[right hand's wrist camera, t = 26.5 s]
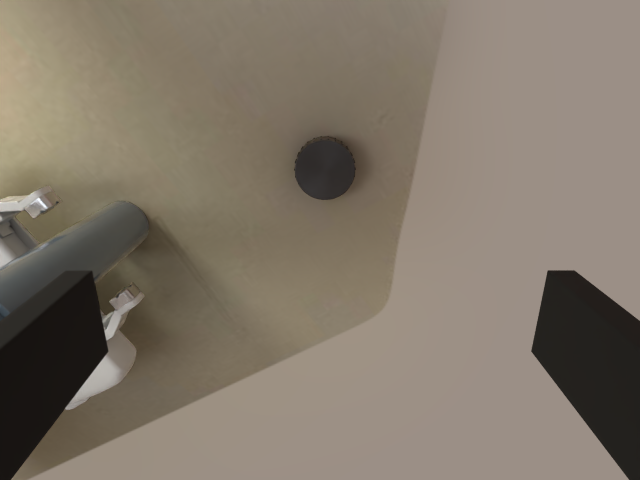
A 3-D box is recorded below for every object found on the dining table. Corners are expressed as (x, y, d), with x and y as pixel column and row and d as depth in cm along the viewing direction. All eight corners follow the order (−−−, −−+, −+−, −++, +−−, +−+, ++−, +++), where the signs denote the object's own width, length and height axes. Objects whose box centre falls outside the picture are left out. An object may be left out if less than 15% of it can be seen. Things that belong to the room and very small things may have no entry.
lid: (366, 168, 38) (368, 172, 36) (322, 205, 39) (322, 212, 37) (327, 123, 37) (327, 125, 35) (283, 163, 38) (281, 168, 36)
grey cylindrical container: (106, 248, 41) (-79, 390, 22) (95, 202, 39) (-114, 313, 20) (153, 245, 41) (7, 386, 22) (143, 199, 39) (-22, 308, 20)
